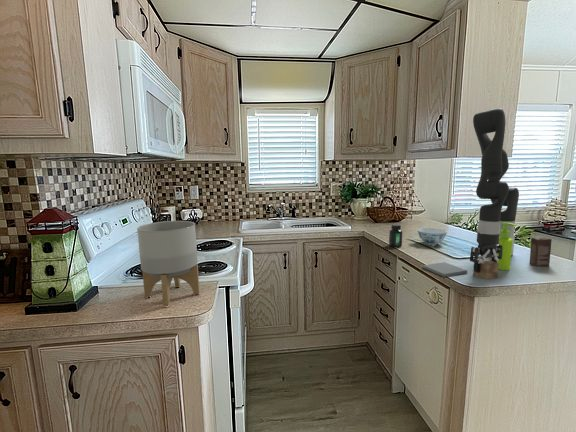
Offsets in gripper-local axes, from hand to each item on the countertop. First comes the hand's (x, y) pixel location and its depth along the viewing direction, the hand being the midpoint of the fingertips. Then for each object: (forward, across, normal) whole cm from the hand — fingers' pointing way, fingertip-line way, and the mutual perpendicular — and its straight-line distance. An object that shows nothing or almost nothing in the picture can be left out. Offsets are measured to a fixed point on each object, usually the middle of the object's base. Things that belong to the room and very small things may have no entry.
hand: (484, 270), depth 128 cm
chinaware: (+2, -18, -49) cm, 52 cm away
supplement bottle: (+2, +4, -52) cm, 52 cm away
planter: (+3, +120, -24) cm, 122 cm away
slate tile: (+2, +10, -11) cm, 15 cm away
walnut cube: (+2, 0, 0) cm, 2 cm away
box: (+2, -34, -2) cm, 34 cm away
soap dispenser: (+2, -15, -4) cm, 16 cm away
